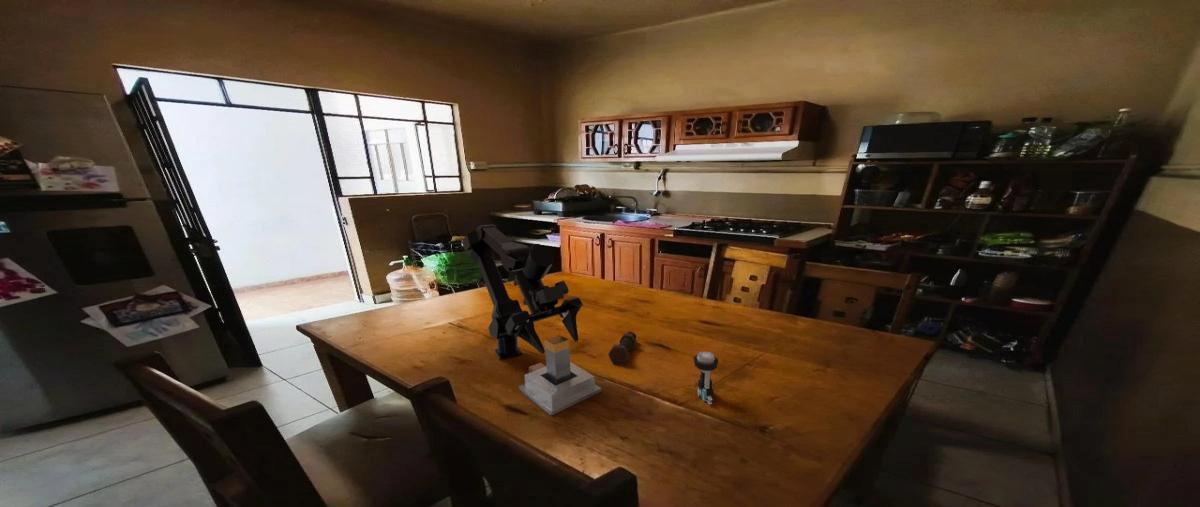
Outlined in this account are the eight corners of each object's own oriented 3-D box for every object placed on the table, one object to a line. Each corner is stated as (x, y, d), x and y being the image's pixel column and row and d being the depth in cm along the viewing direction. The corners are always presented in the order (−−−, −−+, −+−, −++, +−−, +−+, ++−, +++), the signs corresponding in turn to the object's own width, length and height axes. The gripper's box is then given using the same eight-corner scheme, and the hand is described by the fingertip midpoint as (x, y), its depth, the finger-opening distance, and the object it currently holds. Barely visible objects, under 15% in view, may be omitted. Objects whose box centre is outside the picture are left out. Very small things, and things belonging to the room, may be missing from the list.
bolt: (634, 347, 116) (620, 369, 102) (620, 338, 117) (605, 359, 103) (643, 333, 114) (631, 353, 100) (629, 323, 115) (615, 342, 101)
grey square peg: (547, 387, 90) (544, 339, 88) (562, 381, 93) (559, 334, 91) (557, 394, 87) (554, 344, 85) (571, 387, 90) (569, 339, 88)
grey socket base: (510, 382, 95) (509, 368, 94) (557, 363, 103) (556, 350, 103) (550, 415, 81) (550, 399, 80) (601, 391, 89) (601, 376, 89)
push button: (722, 406, 83) (724, 363, 81) (697, 406, 83) (698, 364, 81) (712, 389, 89) (714, 349, 87) (690, 390, 89) (690, 350, 87)
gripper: (507, 279, 82) (536, 343, 76) (577, 265, 94) (607, 319, 87) (494, 305, 89) (520, 365, 83) (560, 289, 101) (587, 341, 95)
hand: (560, 346), depth 87 cm, fingers open, 9 cm apart
